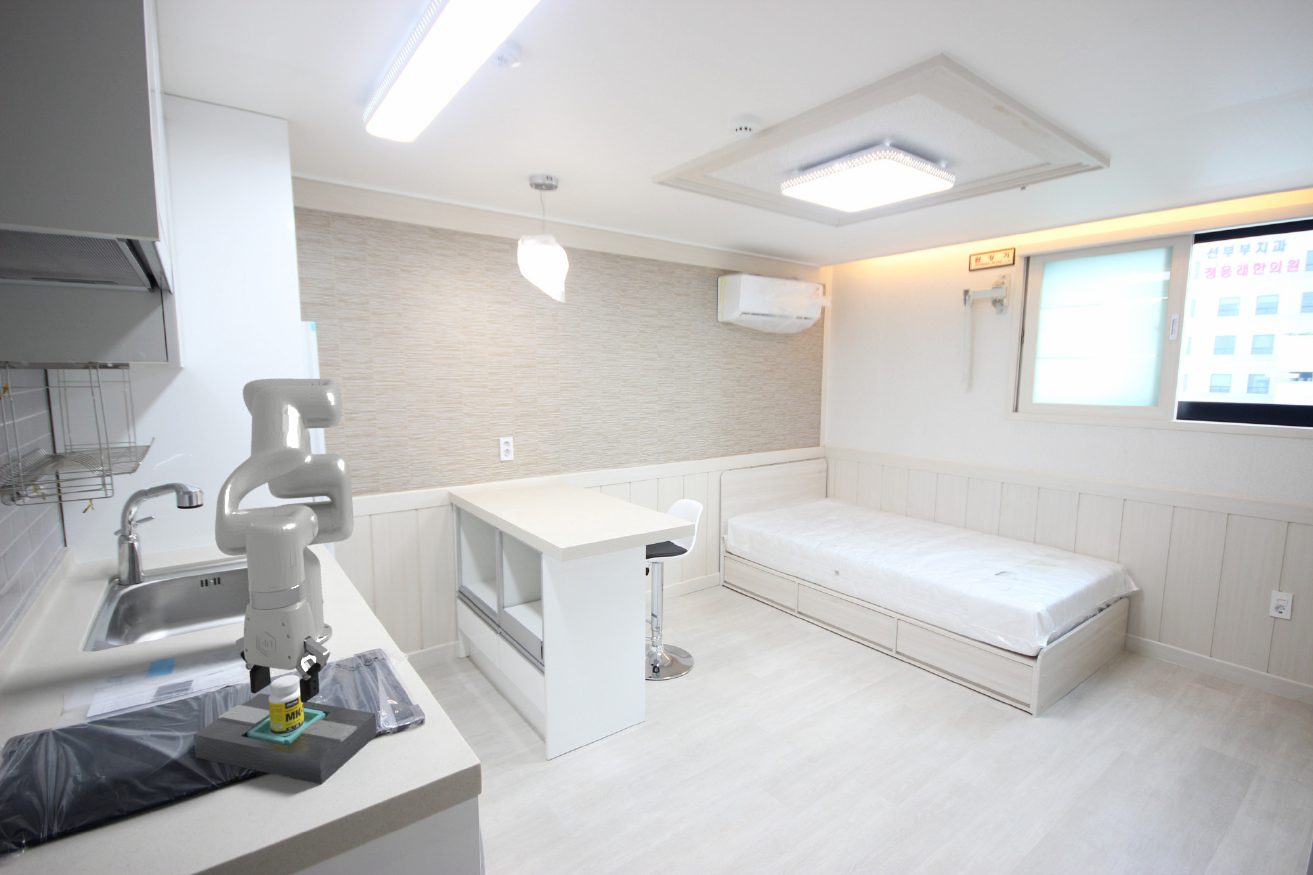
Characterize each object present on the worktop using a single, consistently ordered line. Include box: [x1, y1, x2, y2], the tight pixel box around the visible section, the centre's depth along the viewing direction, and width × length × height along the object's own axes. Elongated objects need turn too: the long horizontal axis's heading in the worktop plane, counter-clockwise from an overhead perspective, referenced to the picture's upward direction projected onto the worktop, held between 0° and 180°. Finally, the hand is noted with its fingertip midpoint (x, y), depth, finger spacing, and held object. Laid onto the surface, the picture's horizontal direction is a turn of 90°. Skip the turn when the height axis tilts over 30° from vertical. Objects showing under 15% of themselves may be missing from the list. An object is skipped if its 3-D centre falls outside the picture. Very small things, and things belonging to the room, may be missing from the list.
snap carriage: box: [247, 708, 325, 745], centre depth 96 cm, size 8×8×3 cm
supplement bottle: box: [269, 674, 304, 737], centre depth 96 cm, size 5×5×8 cm
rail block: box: [193, 693, 377, 785], centre depth 96 cm, size 24×12×4 cm, turn 77°
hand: (285, 693), depth 95 cm, fingers open, 9 cm apart
